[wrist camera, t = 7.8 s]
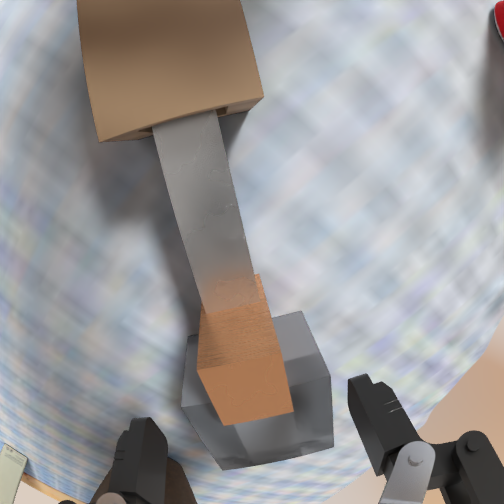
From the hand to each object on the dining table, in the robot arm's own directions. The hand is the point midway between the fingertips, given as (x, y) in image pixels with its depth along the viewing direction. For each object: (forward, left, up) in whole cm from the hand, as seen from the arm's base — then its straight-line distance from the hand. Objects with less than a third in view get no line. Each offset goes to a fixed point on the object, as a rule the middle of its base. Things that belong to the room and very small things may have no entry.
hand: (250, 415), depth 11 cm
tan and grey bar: (-3, 0, -9) cm, 9 cm away
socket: (+6, 0, -10) cm, 11 cm away
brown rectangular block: (-15, 0, -10) cm, 18 cm away
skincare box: (+21, -41, -10) cm, 47 cm away
